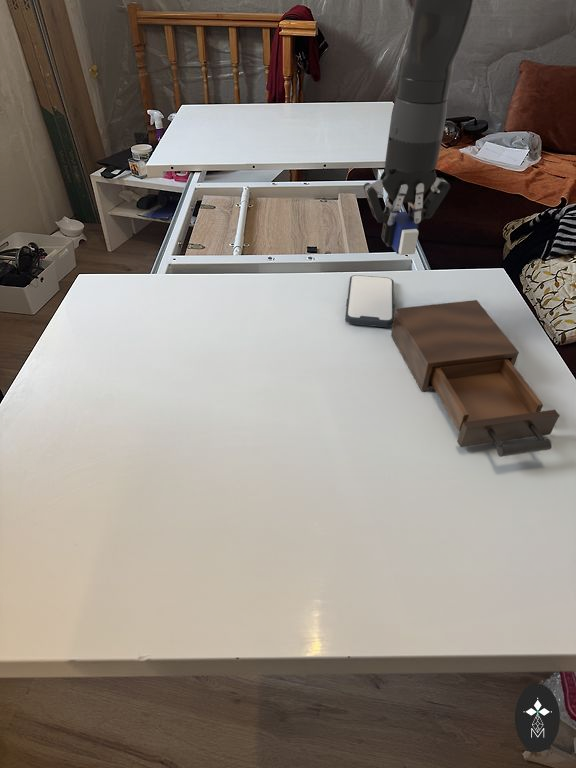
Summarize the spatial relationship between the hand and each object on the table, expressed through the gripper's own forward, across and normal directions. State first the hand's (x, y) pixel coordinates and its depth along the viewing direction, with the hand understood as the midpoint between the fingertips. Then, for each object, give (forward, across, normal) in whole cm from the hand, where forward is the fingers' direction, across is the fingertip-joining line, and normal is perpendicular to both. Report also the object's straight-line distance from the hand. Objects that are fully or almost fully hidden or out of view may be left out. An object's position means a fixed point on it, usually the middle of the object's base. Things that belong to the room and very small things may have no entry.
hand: (397, 242), depth 87 cm
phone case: (+16, +1, -6) cm, 17 cm away
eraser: (0, 0, 0) cm, 1 cm away
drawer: (+14, -7, +28) cm, 32 cm away
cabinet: (+15, -7, +12) cm, 21 cm away
